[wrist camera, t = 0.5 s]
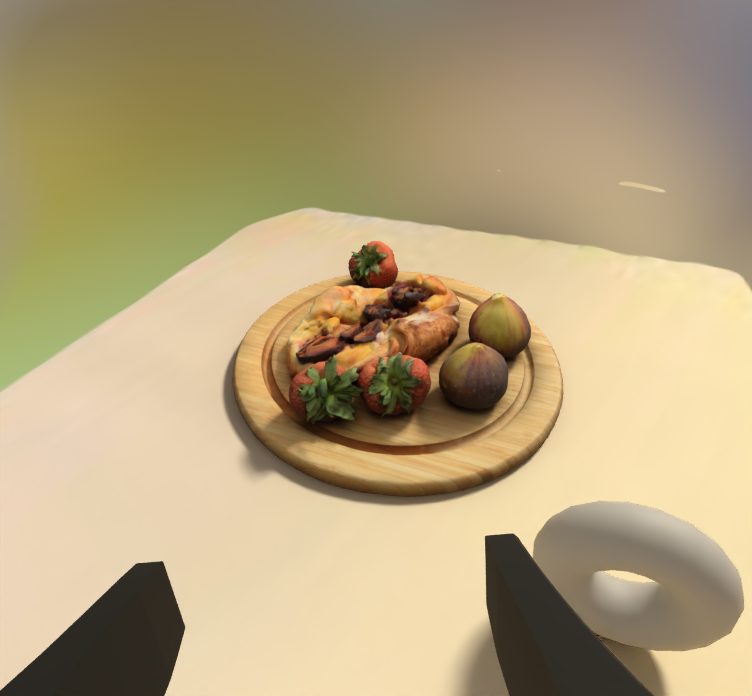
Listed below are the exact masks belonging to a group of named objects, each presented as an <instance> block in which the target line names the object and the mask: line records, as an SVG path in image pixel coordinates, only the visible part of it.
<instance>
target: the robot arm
mask: <svg viewBox="0 0 752 696" xmlns="http://www.w3.org/2000/svg"><path fill="white" fill-rule="evenodd" d="M485 554H486V602H487V609H488V614H489V619H490V624H491V629H492V634H493V638H494V643H495V647H496V652H497V656H498V660H499V663H500V666H501V670H502V673H503V676H504V679H505V682H506V686H507V689H508V692H509V695H510V696H654V695H653V694H651V693H650V692H649V691H648V690H647V689H646V688H645V687H644V686H643V685H642V684H641V683H640V682H639V681H638V680H637V679H636V678H635V677H634V676H633V675H632V674H631V673H630V671H629V670H628V669H627V668H626V667H625V666H624V665H623V664H622V663H621V662H620V661H619V660H618V659H617V658H616V657H615V656H614V655H613V654H612V653H611V651H610V650H609V649H608V648H607V647H606V646H605V645H604V644H603V643H602V642H601V641H600V640H599V639H598V637H597V636H596V635H595V634H594V633H593V632H592V631H591V630H590V628H589V627H588V626H587V625H586V624H585V623H584V622H583V620H582V619H581V618H580V617H579V616H578V614H577V613H576V612H575V611H574V610H573V609H572V607H571V606H570V605H569V604H568V603H567V602H566V600H565V599H564V598H563V597H562V596H561V594H560V593H559V592H558V591H557V589H556V588H555V587H554V586H553V584H552V583H551V582H550V581H549V579H548V578H547V577H546V575H545V574H544V573H543V572H542V570H541V569H540V568H539V566H538V565H537V564H536V562H535V561H534V560H533V558H532V557H531V555H530V554H529V553H528V551H527V550H526V548H525V547H524V546H523V544H522V543H521V541H520V540H519V538H518V537H517V536H516V535H514V534H501V535H489V536H485ZM184 630H185V625H184V622H183V619H182V616H181V613H180V610H179V607H178V604H177V601H176V598H175V595H174V592H173V590H172V587H171V584H170V581H169V578H168V575H167V572H166V569H165V566H164V563H163V561H161V562H149V563H137V564H135V565H134V566H133V567H132V568H131V569H130V570H129V571H128V572H127V573H125V574H124V575H123V576H122V577H121V578H120V579H119V580H118V581H117V582H116V583H115V584H114V585H113V586H112V587H111V588H110V589H109V590H108V591H107V592H106V593H105V594H103V595H102V596H101V597H100V598H99V599H98V600H97V601H96V602H95V603H94V604H93V605H92V606H91V607H90V608H89V609H88V610H87V611H86V612H85V613H84V614H83V615H82V616H81V617H80V618H79V619H78V620H76V621H75V622H74V623H73V624H72V625H71V626H70V627H69V628H68V629H67V630H66V631H65V632H64V633H63V634H62V635H61V636H60V637H59V638H58V639H56V640H55V641H54V642H53V643H52V644H51V645H50V646H49V647H48V648H47V649H46V650H45V651H44V652H43V653H42V654H41V655H39V656H38V657H37V658H36V659H35V660H34V661H33V662H32V663H31V664H29V665H28V666H27V667H26V668H25V669H24V670H23V671H22V672H20V673H19V674H18V675H17V676H16V677H15V678H14V679H13V680H12V681H10V682H9V683H8V684H7V685H6V686H5V687H4V688H3V689H1V690H0V696H164V695H165V693H166V690H167V687H168V685H169V682H170V680H171V677H172V673H173V670H174V666H175V663H176V660H177V656H178V653H179V649H180V645H181V641H182V638H183V634H184Z"/></svg>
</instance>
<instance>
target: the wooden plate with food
mask: <svg viewBox="0 0 752 696" xmlns="http://www.w3.org/2000/svg"><path fill="white" fill-rule="evenodd" d="M352 253H353V255H352V258H351V259H350V260H349V271H350V275H347V276H341V277H337V278H333V279H330V280H326V281H323V282H320V283H317V284H314V285H311V286H308V287H306V288H303V289H301V290H299V291H297V292H295V293H293V294H291V295H289V296H287V297H286V298H284V299H282V300H281V301H279V302H278V303H276V304H275V305H274V306H272V307H271V308H270V309H268V310H267V311H266V312H265V313H264V314H263V315H262V316H260V317H259V318H258V320H257V321H256V322H255V323H254V324H253V325H252V326H251V328H250V329H249V331H248V332H247V333H246V335H245V337H244V339H243V340H242V342H241V344H240V347H239V349H238V352H237V355H236V359H235V363H234V370H233V386H234V394H235V398H236V401H237V404H238V407H239V409H240V412H241V414H242V416H243V417H244V419H245V421H246V422H247V424H248V426H249V427H250V429H251V430H252V431H253V433H254V434H255V436H256V437H257V438H258V439H259V440H260V441H261V442H262V443H263V444H264V445H265V446H266V447H267V448H268V449H269V450H270V451H272V452H273V453H274V454H275V455H277V456H278V457H279V458H281V459H282V460H284V461H285V462H287V463H288V464H290V465H291V466H293V467H295V468H296V469H298V470H300V471H302V472H304V473H306V474H308V475H310V476H312V477H315V478H317V479H319V480H322V481H324V482H327V483H330V484H334V485H337V486H340V487H343V488H348V489H352V490H356V491H360V492H366V493H375V494H383V495H396V496H420V495H434V494H442V493H449V492H453V491H458V490H463V489H466V488H470V487H473V486H477V485H479V484H482V483H484V482H487V481H489V480H492V479H494V478H496V477H499V476H501V475H503V474H504V473H506V472H508V471H509V470H511V469H513V468H514V467H516V466H518V465H519V464H521V463H522V462H523V461H525V460H526V459H527V458H529V457H530V456H531V455H532V454H533V453H534V452H535V451H536V450H537V449H538V448H539V447H540V446H541V445H542V444H543V442H544V441H545V440H546V438H547V437H548V435H549V434H550V432H551V430H552V429H553V427H554V425H555V423H556V420H557V418H558V416H559V412H560V409H561V405H562V400H563V379H562V374H561V369H560V364H559V362H558V359H557V357H556V354H555V352H554V350H553V348H552V346H551V345H550V343H549V341H548V340H547V338H546V337H545V336H544V335H543V333H542V332H541V331H540V330H539V328H538V327H537V326H536V325H535V324H534V323H533V322H532V321H531V320H530V319H529V318H528V317H527V316H526V314H525V313H524V311H523V310H522V308H521V307H520V306H518V305H517V304H516V303H515V302H514V301H513V300H511V299H510V298H508V297H506V296H504V295H501V294H499V293H498V294H494V295H493V294H491V293H489V292H487V291H485V290H483V289H480V288H478V287H475V286H473V285H470V284H467V283H464V282H461V281H457V280H454V279H450V278H445V277H441V276H436V275H430V274H423V273H415V272H400V271H398V268H397V265H396V263H395V261H394V254H393V252H392V250H391V249H390V248H389V247H388V246H387V245H385V244H384V243H383V242H380V241H373V242H370V243H368V244H367V245H363V246H362V249H361V250H360V251H359V252H358V253H355V252H352Z"/></svg>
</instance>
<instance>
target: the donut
mask: <svg viewBox="0 0 752 696" xmlns="http://www.w3.org/2000/svg"><path fill="white" fill-rule="evenodd" d="M533 560H534V561H535V562H536V564H537V565H538V566H539V568H540V569H541V570H542V572H543V573H544V574H545V575H546V577H547V578H548V579H549V581H550V582H551V583H552V584H553V586H554V587H555V588H556V589H557V591H558V592H559V593H560V594H561V596H562V597H563V598H564V599H565V600H566V602H567V603H568V604H569V605H570V606H571V607H572V609H573V610H574V611H575V612H576V613H577V614H578V616H579V617H580V618H581V619H582V620H583V622H584V623H585V624H586V625H587V626H588V627H589V628H590V630H591V631H592V632H594V633H596V634H598V635H600V636H602V637H605V638H608V639H611V640H614V641H617V642H620V643H623V644H626V645H629V646H633V647H639V648H644V649H650V650H655V651H687V650H692V649H697V648H702V647H707V646H709V645H710V644H712V643H714V642H716V641H717V640H719V639H721V638H723V637H724V636H726V635H728V634H729V633H731V631H732V630H733V628H734V626H735V624H736V622H737V621H738V619H739V617H740V615H741V613H742V612H743V610H744V596H743V589H742V582H741V578H740V575H739V573H738V570H737V569H736V567H735V566H734V564H733V563H732V562H731V560H730V559H729V558H728V556H727V555H726V553H725V552H724V551H723V549H722V548H721V547H720V546H719V545H718V544H717V543H716V542H715V541H714V540H713V539H711V538H710V537H709V536H707V535H706V534H705V533H703V532H702V531H701V530H699V529H698V528H696V527H695V526H694V525H692V524H691V523H689V522H686V521H684V520H682V519H679V518H677V517H675V516H673V515H670V514H668V513H666V512H664V511H661V510H659V509H656V508H651V507H647V506H643V505H638V504H634V503H629V502H609V501H598V502H592V503H587V504H582V505H576V506H571V507H569V508H567V509H565V510H563V511H562V512H560V513H558V514H556V515H554V516H552V517H551V518H550V519H549V520H548V521H547V522H546V524H545V525H544V526H543V528H542V529H541V530H540V531H539V533H538V534H537V536H536V539H535V541H534V550H533ZM606 570H617V571H627V572H631V573H635V574H638V575H642V576H645V577H647V578H649V579H652V580H654V581H656V582H646V583H641V582H633V581H627V580H623V579H620V578H616V577H614V576H612V575H610V574H607V573H605V572H603V571H606Z"/></svg>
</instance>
